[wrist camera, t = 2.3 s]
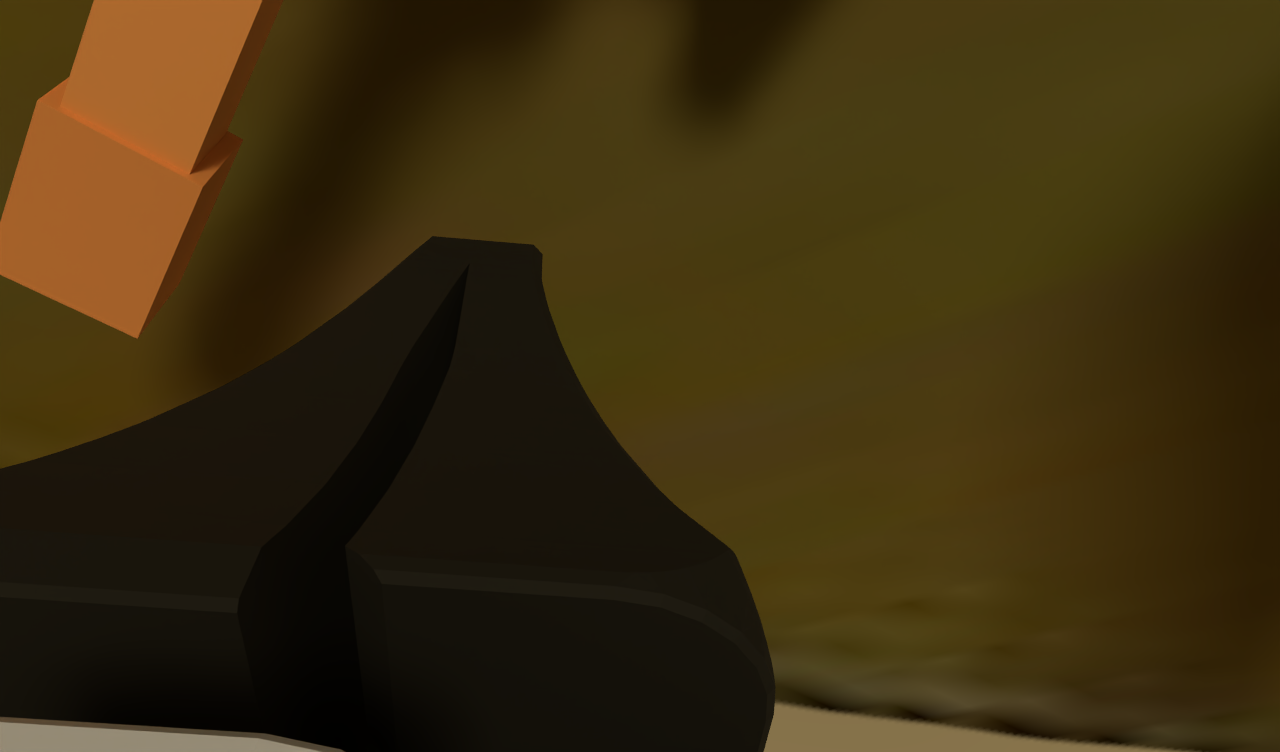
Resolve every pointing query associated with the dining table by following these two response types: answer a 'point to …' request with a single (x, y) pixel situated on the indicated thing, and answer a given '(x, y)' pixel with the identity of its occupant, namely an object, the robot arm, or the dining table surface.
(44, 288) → the lever
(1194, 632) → the dining table surface
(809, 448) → the dining table surface
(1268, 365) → the dining table surface
